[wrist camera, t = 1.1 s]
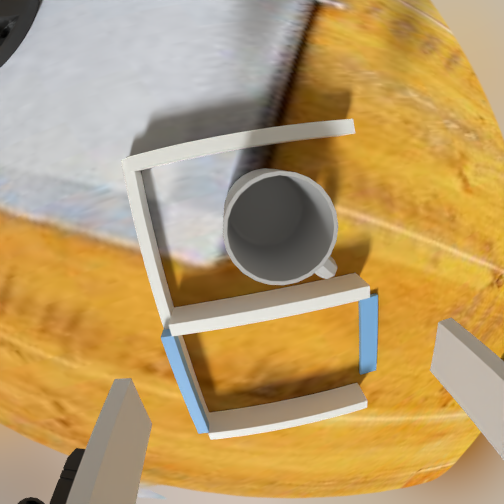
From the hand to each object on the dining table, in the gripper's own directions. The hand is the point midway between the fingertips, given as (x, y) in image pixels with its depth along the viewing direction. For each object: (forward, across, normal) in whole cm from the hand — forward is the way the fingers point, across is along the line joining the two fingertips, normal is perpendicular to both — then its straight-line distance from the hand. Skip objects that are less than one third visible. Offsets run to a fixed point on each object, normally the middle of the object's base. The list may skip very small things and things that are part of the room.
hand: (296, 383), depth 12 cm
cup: (+18, +2, +3) cm, 19 cm away
